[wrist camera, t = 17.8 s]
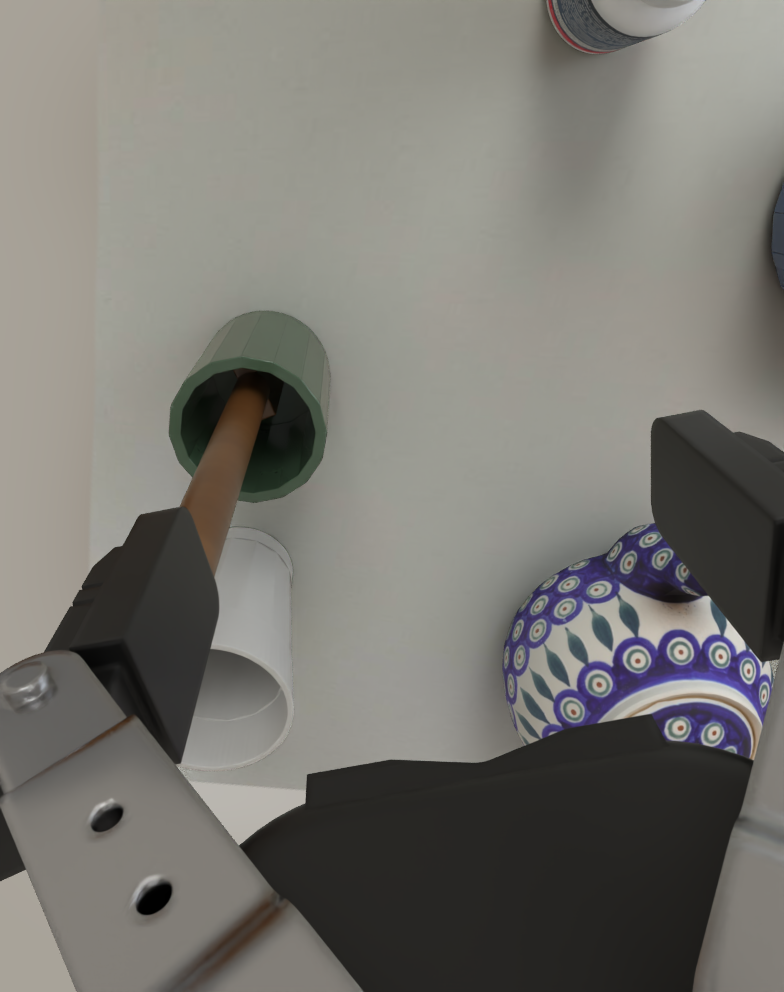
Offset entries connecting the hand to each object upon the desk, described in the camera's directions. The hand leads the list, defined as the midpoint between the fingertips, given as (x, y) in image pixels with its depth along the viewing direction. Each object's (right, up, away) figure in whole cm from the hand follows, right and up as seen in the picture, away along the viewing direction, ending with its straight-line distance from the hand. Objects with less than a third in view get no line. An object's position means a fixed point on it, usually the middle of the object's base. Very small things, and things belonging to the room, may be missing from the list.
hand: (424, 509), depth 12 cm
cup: (-10, -4, +32) cm, 33 cm away
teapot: (+13, -8, +35) cm, 38 cm away
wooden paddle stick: (-7, +8, +25) cm, 27 cm away
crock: (-7, +7, +26) cm, 28 cm away
